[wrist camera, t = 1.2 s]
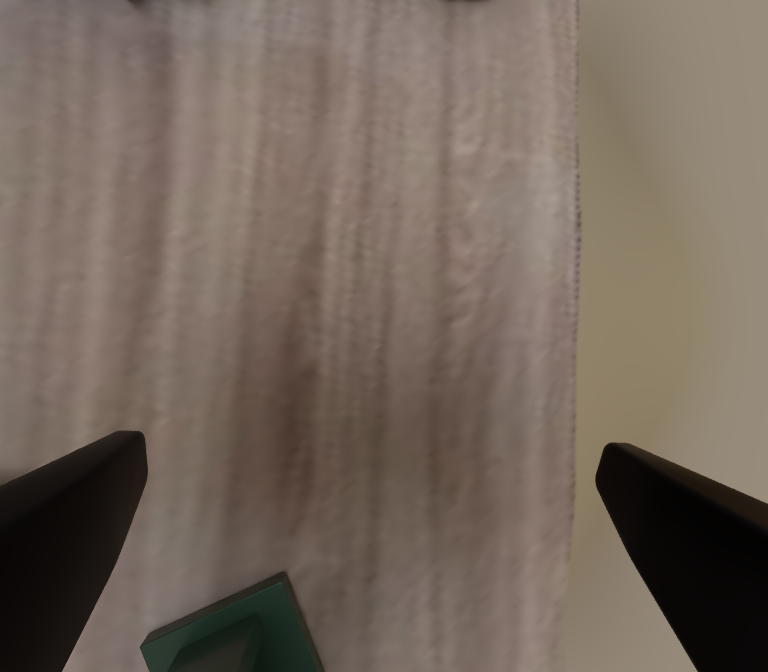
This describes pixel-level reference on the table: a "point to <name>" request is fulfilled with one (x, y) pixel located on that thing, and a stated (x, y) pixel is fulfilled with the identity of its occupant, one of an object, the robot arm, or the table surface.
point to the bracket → (238, 635)
